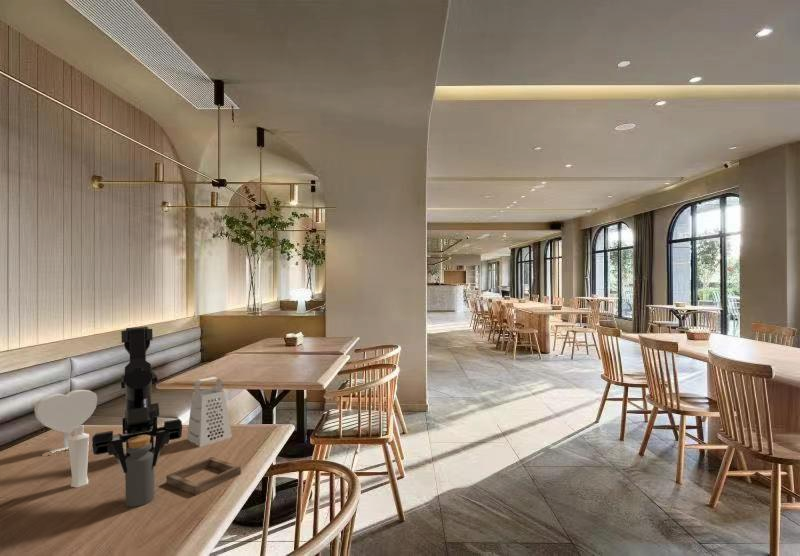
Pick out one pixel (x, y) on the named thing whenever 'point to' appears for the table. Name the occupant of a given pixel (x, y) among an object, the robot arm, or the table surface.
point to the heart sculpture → (65, 411)
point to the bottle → (139, 471)
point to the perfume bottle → (79, 456)
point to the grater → (208, 415)
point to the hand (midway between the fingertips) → (140, 468)
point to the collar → (191, 487)
